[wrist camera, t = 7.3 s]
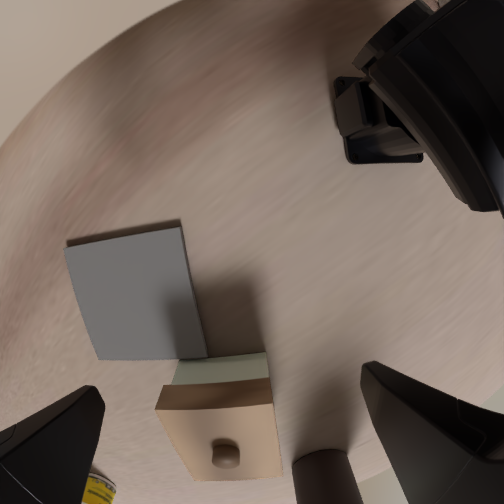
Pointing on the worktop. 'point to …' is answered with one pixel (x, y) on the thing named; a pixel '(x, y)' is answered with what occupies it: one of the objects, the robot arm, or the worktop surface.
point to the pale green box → (221, 369)
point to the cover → (223, 429)
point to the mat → (137, 296)
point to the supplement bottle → (98, 490)
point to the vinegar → (325, 479)
